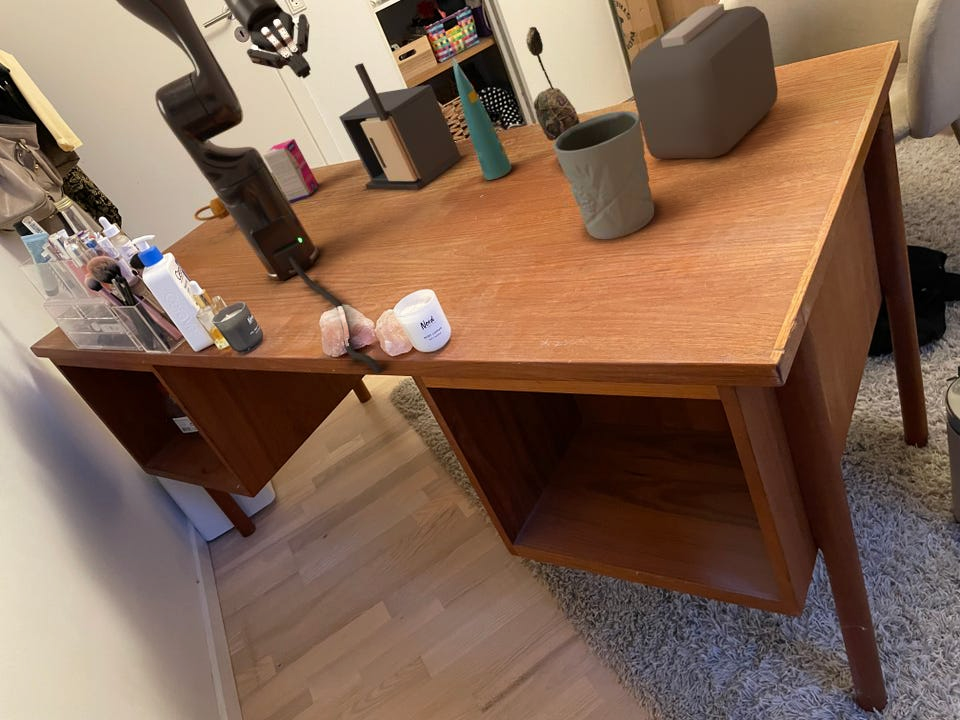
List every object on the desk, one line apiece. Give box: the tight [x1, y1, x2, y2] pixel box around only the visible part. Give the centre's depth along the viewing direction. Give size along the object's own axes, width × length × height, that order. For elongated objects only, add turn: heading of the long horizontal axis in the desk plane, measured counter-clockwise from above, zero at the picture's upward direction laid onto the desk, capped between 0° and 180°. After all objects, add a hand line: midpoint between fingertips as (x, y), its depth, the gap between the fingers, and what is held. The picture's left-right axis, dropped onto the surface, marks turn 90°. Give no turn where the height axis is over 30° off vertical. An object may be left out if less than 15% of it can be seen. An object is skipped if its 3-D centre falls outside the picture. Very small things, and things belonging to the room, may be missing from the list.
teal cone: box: [452, 56, 512, 181], centre depth 111 cm, size 7×5×19 cm, turn 13°
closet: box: [338, 84, 463, 191], centre depth 130 cm, size 12×18×14 cm, turn 44°
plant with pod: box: [525, 26, 581, 168], centre depth 102 cm, size 8×11×20 cm
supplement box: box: [262, 138, 319, 204], centre depth 150 cm, size 6×6×12 cm
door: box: [354, 62, 417, 181], centre depth 123 cm, size 1×9×22 cm, turn 44°
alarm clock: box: [629, 3, 779, 160], centre depth 89 cm, size 16×11×16 cm
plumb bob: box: [193, 171, 283, 222], centre depth 155 cm, size 9×9×25 cm
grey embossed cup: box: [552, 110, 655, 240], centre depth 82 cm, size 10×10×12 cm
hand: (305, 73), depth 120 cm, fingers closed
